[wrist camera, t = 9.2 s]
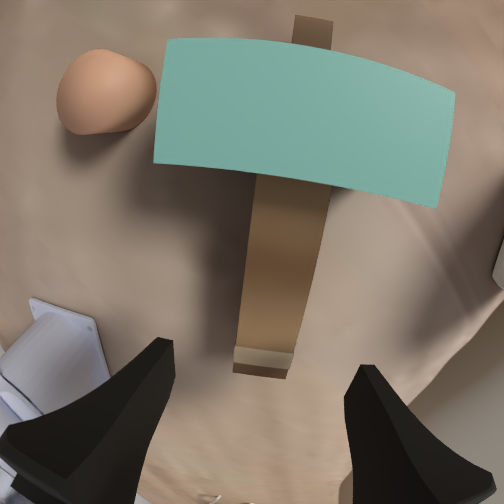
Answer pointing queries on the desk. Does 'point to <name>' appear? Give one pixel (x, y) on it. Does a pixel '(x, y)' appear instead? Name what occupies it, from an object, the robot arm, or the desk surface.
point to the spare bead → (105, 93)
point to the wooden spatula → (281, 253)
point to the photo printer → (499, 268)
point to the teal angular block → (303, 116)
